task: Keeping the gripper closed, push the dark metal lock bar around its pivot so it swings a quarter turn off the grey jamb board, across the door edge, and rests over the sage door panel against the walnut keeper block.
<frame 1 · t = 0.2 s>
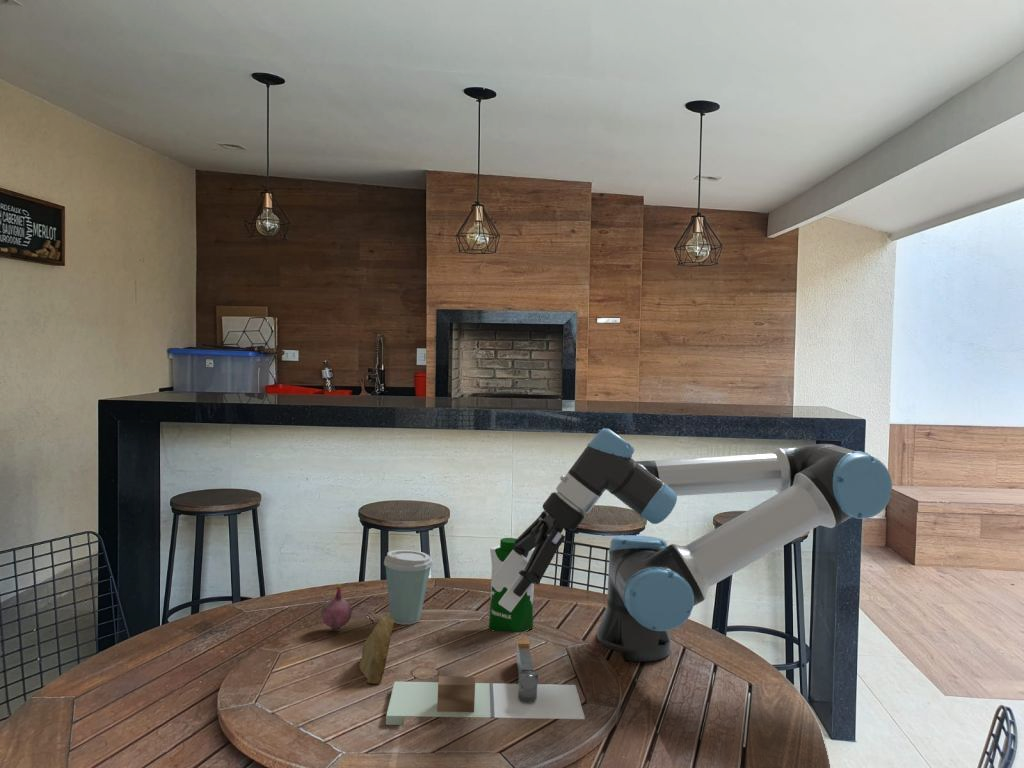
hand: (501, 593, 138), 15 cm above the table, tool tilted 35°, fingers open, 13 cm apart
milk carton: (511, 630, 160), on the table
keeper block: (455, 716, 122), resting on door plate
door plate: (485, 708, 125), on the table
lock bar: (525, 667, 132), point 4 cm above the table, hinge at -90.0°
disposable coffee cup: (406, 620, 163), on the table
vegetable: (336, 631, 155), on the table
rock: (371, 673, 137), on the table
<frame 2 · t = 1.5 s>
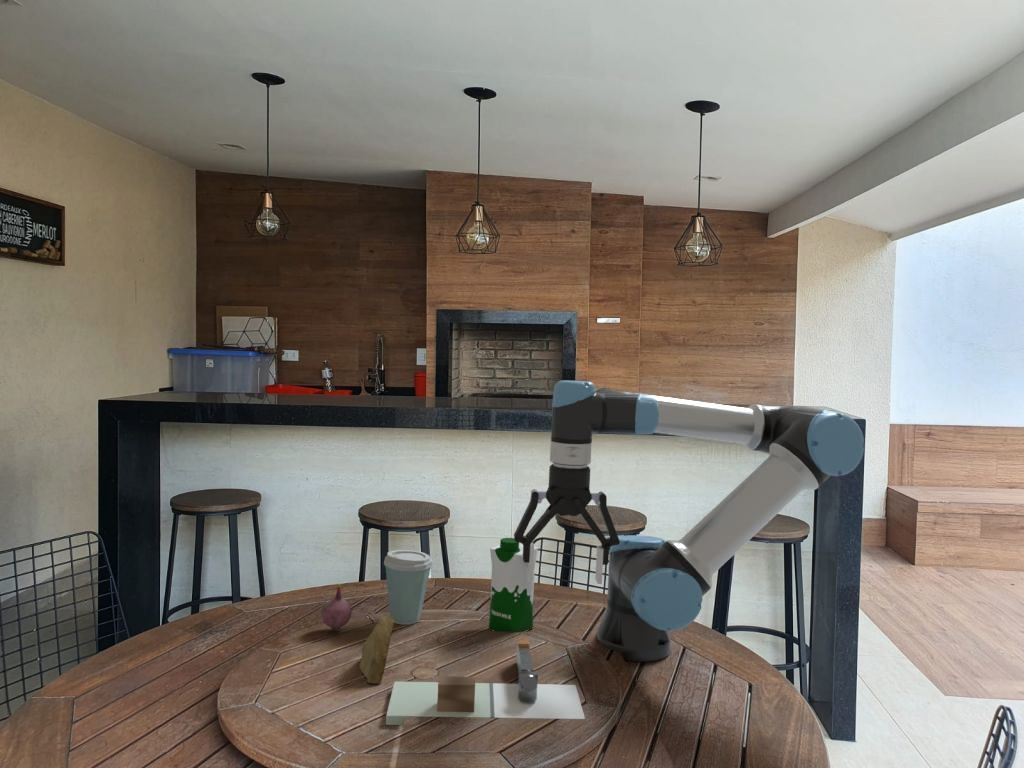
hand: (564, 580, 137), 18 cm above the table, tool pointing down, fingers open, 12 cm apart
nothing on the table moved.
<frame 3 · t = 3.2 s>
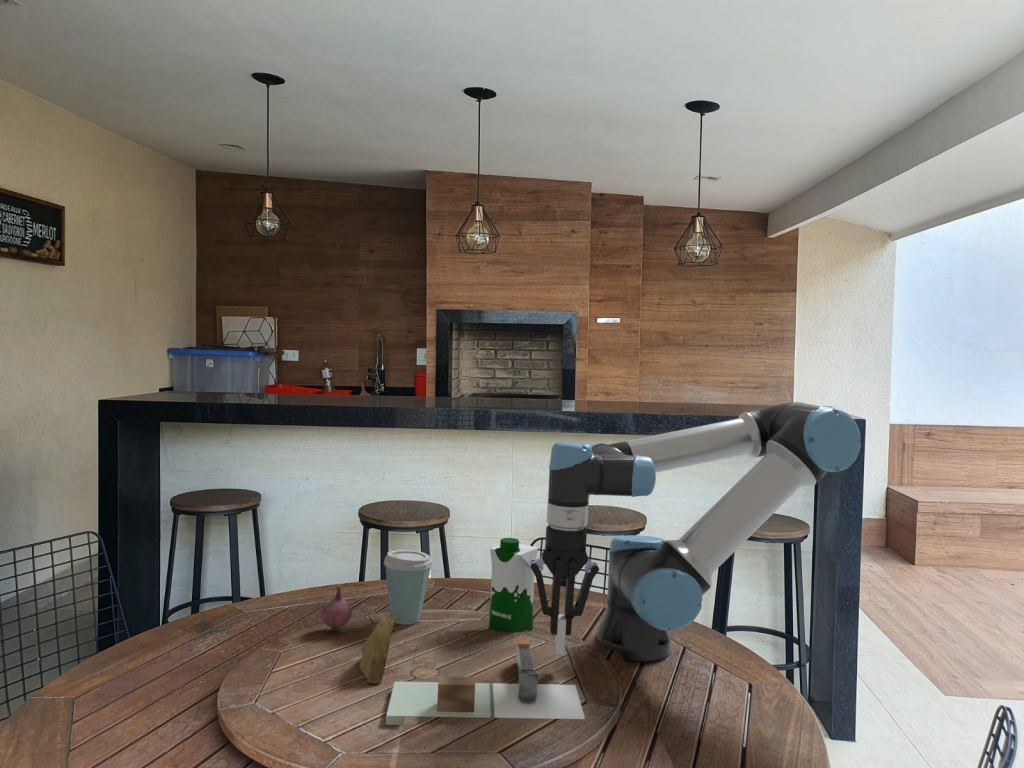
hand: (559, 651, 137), 5 cm above the table, tool pointing down, fingers closed
nothing on the table moved.
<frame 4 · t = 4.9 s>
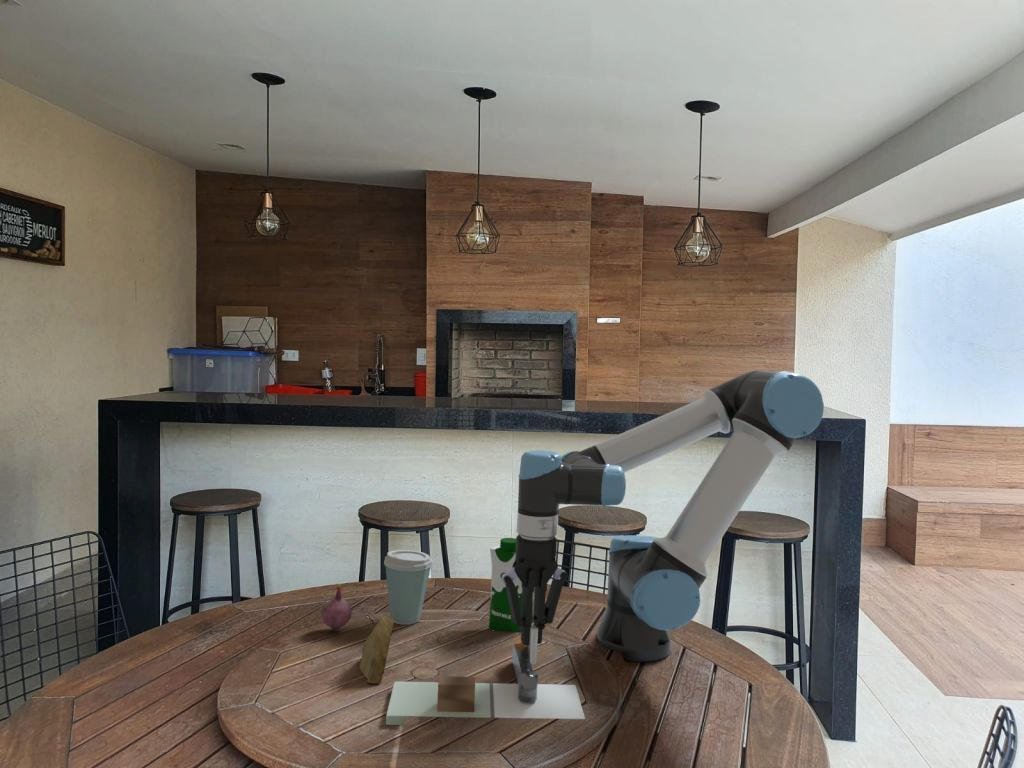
hand: (530, 660, 137), 3 cm above the table, tool pointing down, fingers closed
lock bar: (523, 667, 132), point 4 cm above the table, hinge at -86.6°, touching gripper
everything else where it was.
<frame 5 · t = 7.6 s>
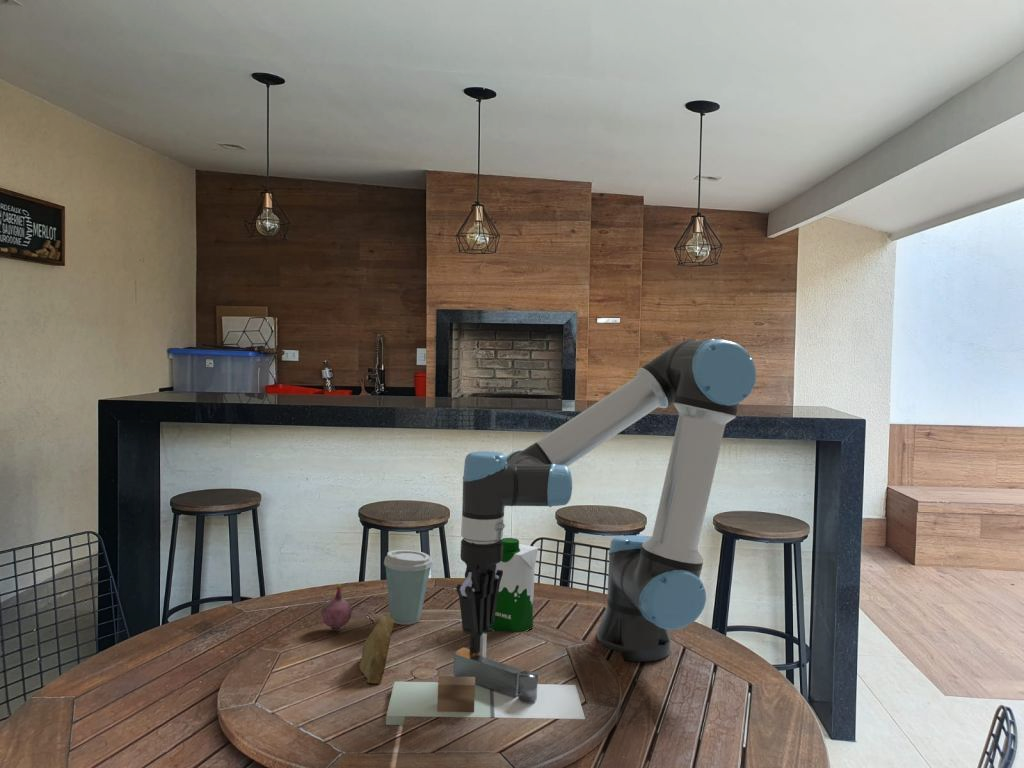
hand: (477, 668, 133), 3 cm above the table, tool pointing down, fingers closed
lock bar: (495, 673, 129), point 4 cm above the table, hinge at -35.7°, touching gripper
everything else where it was.
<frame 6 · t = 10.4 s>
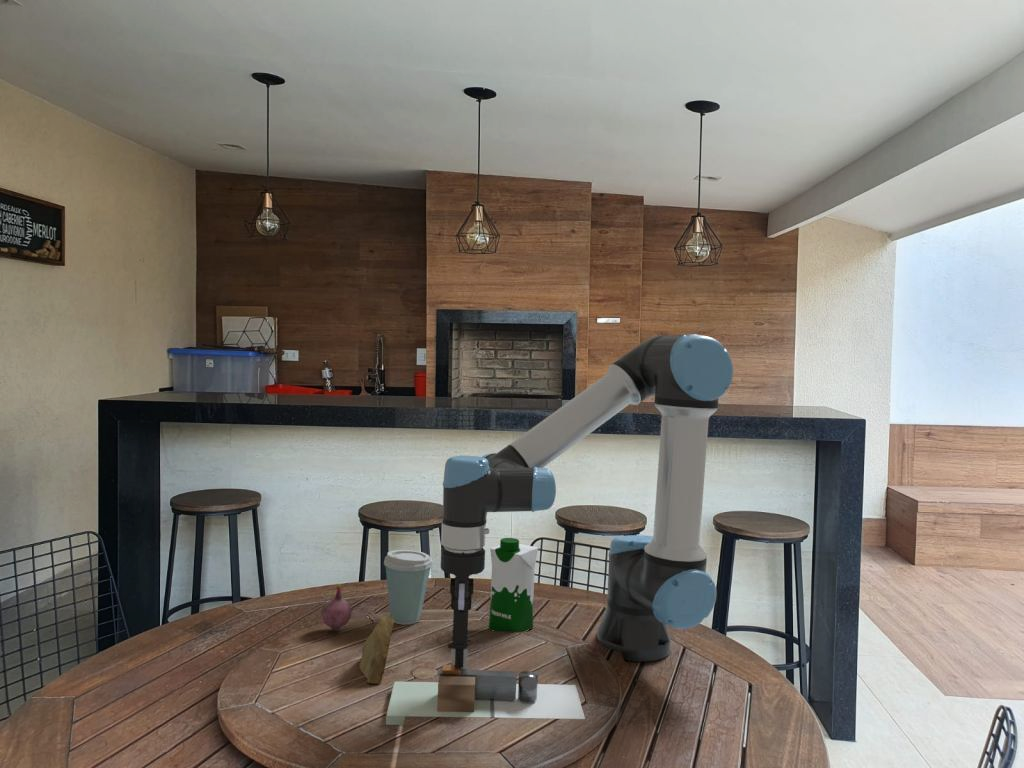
hand: (458, 682, 127), 3 cm above the table, tool pointing down, fingers closed
lock bar: (488, 682, 125), point 4 cm above the table, hinge at -3.4°, touching gripper
everything else where it was.
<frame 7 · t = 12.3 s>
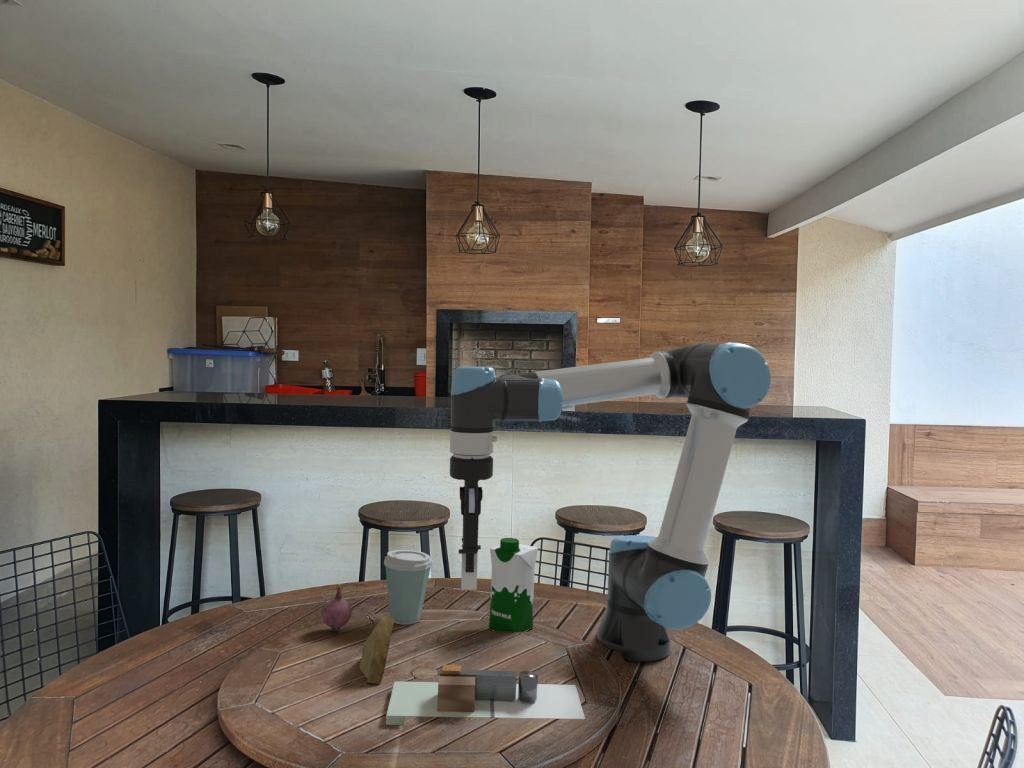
hand: (468, 588, 130), 18 cm above the table, tool pointing down, fingers closed
lock bar: (488, 682, 125), point 4 cm above the table, hinge at -3.4°
everything else where it was.
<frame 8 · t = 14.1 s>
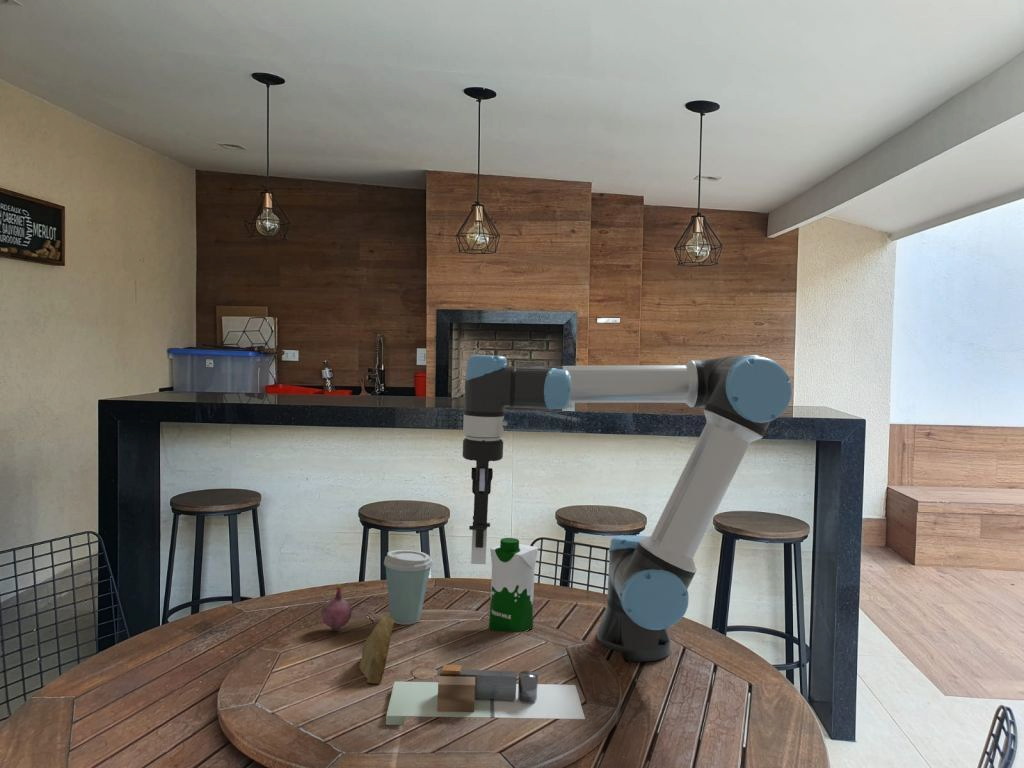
hand: (478, 562, 139), 20 cm above the table, tool pointing down, fingers closed
nothing on the table moved.
at the end: lock bar at -3° (first picture: -90°) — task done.
